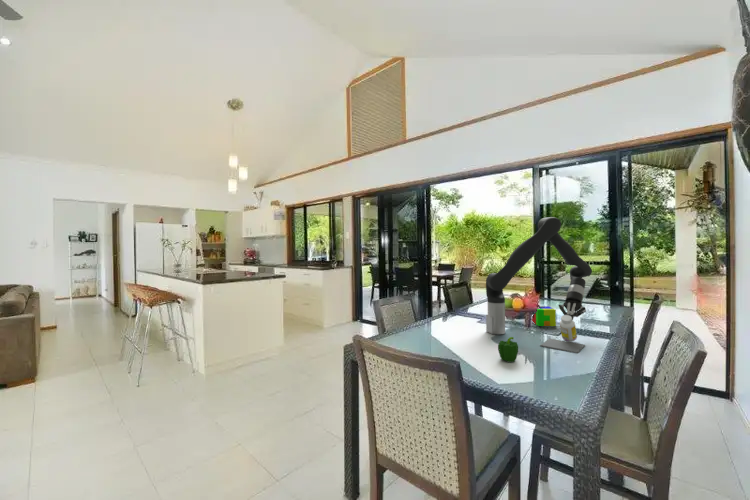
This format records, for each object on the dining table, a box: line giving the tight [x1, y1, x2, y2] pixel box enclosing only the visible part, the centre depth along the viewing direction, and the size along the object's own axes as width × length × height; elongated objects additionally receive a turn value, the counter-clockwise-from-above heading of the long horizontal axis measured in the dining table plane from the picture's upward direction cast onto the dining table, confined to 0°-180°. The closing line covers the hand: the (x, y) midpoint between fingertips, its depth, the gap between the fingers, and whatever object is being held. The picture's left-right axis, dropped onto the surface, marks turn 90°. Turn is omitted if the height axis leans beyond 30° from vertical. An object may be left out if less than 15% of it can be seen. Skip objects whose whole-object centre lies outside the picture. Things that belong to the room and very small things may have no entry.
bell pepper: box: [497, 336, 519, 363], centre depth 146 cm, size 8×8×10 cm
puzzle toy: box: [531, 305, 557, 327], centre depth 204 cm, size 10×10×10 cm
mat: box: [539, 338, 586, 354], centre depth 164 cm, size 14×16×1 cm
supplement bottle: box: [559, 314, 578, 342], centre depth 169 cm, size 7×7×13 cm
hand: (568, 322), depth 171 cm, fingers closed
